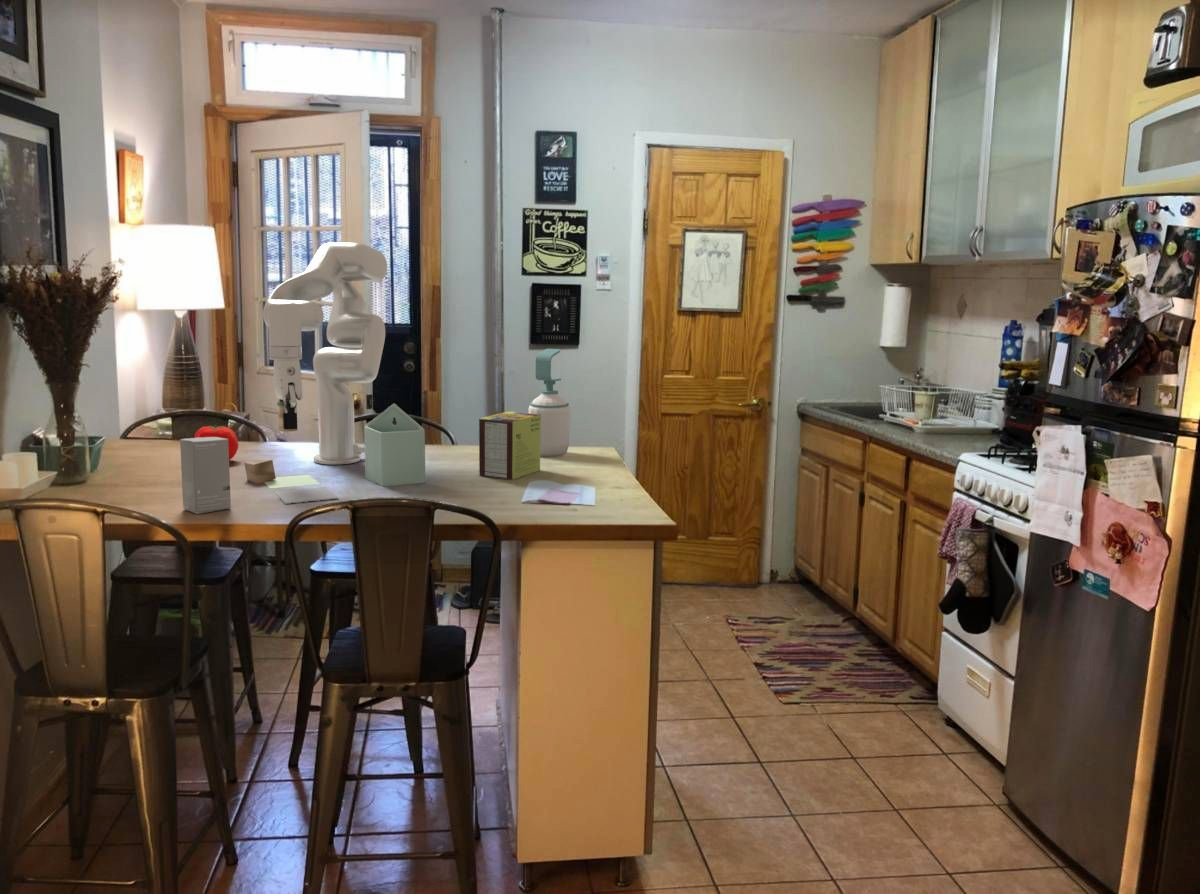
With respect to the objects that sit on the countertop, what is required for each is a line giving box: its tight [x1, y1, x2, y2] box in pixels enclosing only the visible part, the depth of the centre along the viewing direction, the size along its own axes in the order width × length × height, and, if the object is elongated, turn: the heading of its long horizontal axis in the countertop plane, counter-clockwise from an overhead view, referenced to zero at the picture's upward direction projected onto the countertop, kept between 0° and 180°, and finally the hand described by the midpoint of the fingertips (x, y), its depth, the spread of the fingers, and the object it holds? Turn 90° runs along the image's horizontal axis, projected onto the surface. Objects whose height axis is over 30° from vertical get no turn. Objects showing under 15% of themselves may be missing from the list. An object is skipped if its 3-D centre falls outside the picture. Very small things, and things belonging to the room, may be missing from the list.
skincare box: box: [179, 437, 232, 515], centre depth 206 cm, size 8×7×16 cm
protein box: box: [478, 411, 541, 481], centre depth 252 cm, size 10×15×16 cm
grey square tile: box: [274, 486, 339, 505], centre depth 221 cm, size 12×12×1 cm
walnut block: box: [243, 457, 276, 484], centre depth 234 cm, size 5×5×5 cm
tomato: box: [193, 424, 239, 461], centre depth 257 cm, size 12×12×10 cm
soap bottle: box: [527, 348, 571, 458], centre depth 278 cm, size 12×12×31 cm
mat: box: [263, 474, 321, 489], centre depth 235 cm, size 12×12×1 cm
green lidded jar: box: [277, 400, 298, 433], centre depth 232 cm, size 5×5×7 cm
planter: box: [364, 403, 426, 487], centre depth 236 cm, size 16×8×20 cm, turn 78°
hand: (288, 426), depth 232 cm, fingers closed on green lidded jar, 4 cm apart
